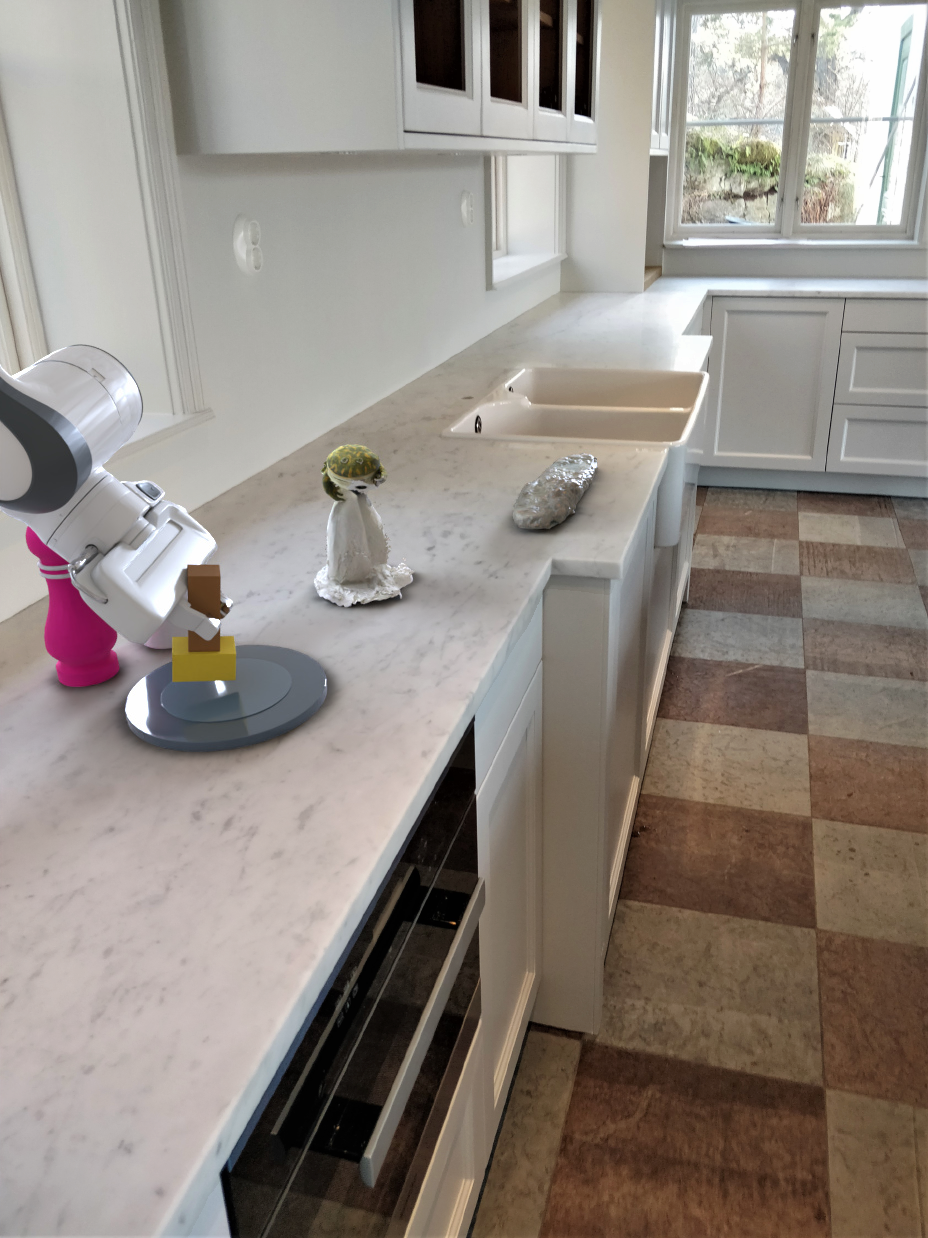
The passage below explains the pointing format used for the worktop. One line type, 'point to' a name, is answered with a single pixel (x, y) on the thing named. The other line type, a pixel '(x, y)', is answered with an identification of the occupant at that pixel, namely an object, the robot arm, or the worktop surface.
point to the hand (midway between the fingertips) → (222, 622)
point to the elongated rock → (554, 492)
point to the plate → (228, 702)
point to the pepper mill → (73, 624)
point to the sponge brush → (194, 652)
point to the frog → (356, 532)
